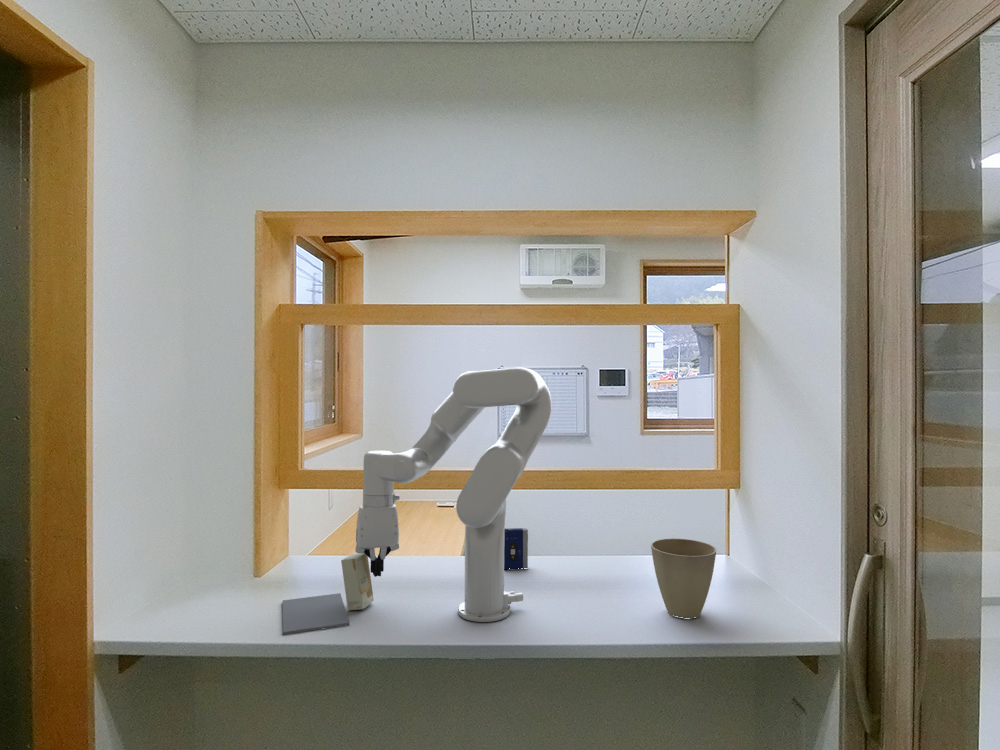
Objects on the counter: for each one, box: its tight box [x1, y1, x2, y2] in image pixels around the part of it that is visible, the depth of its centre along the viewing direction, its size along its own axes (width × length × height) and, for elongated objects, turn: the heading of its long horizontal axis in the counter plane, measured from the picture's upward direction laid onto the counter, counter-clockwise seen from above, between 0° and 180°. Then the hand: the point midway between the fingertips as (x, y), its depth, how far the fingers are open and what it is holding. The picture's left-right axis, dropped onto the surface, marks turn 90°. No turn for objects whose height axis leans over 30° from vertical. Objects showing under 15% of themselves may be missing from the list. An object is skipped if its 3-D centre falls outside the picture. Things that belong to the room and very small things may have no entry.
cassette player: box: [504, 527, 529, 569], centre depth 169 cm, size 7×2×12 cm, turn 95°
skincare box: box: [340, 552, 374, 611], centre depth 139 cm, size 6×4×12 cm
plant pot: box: [650, 537, 717, 618], centre depth 135 cm, size 15×15×16 cm
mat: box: [282, 592, 350, 636], centre depth 135 cm, size 14×20×1 cm
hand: (376, 574), depth 140 cm, fingers closed
